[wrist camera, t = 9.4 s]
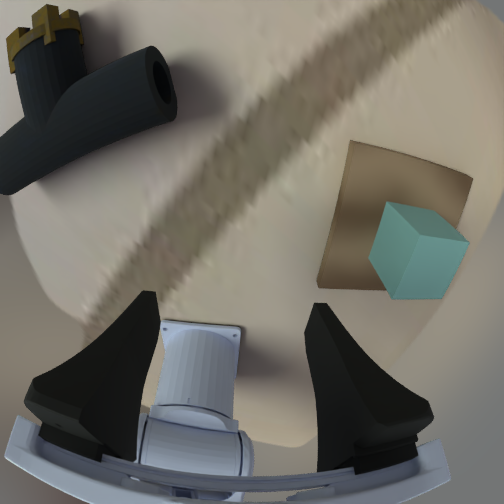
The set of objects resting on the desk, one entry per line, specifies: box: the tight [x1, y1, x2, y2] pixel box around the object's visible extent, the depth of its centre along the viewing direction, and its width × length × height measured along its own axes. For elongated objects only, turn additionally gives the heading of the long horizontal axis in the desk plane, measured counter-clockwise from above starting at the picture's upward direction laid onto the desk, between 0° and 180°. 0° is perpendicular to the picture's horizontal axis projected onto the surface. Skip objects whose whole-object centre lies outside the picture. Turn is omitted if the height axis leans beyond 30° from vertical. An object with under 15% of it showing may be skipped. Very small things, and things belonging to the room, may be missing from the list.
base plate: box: [316, 140, 473, 290], centre depth 19 cm, size 12×12×4 cm
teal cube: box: [368, 202, 470, 299], centre depth 18 cm, size 5×5×5 cm
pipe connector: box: [0, 4, 177, 195], centre depth 12 cm, size 12×5×15 cm
